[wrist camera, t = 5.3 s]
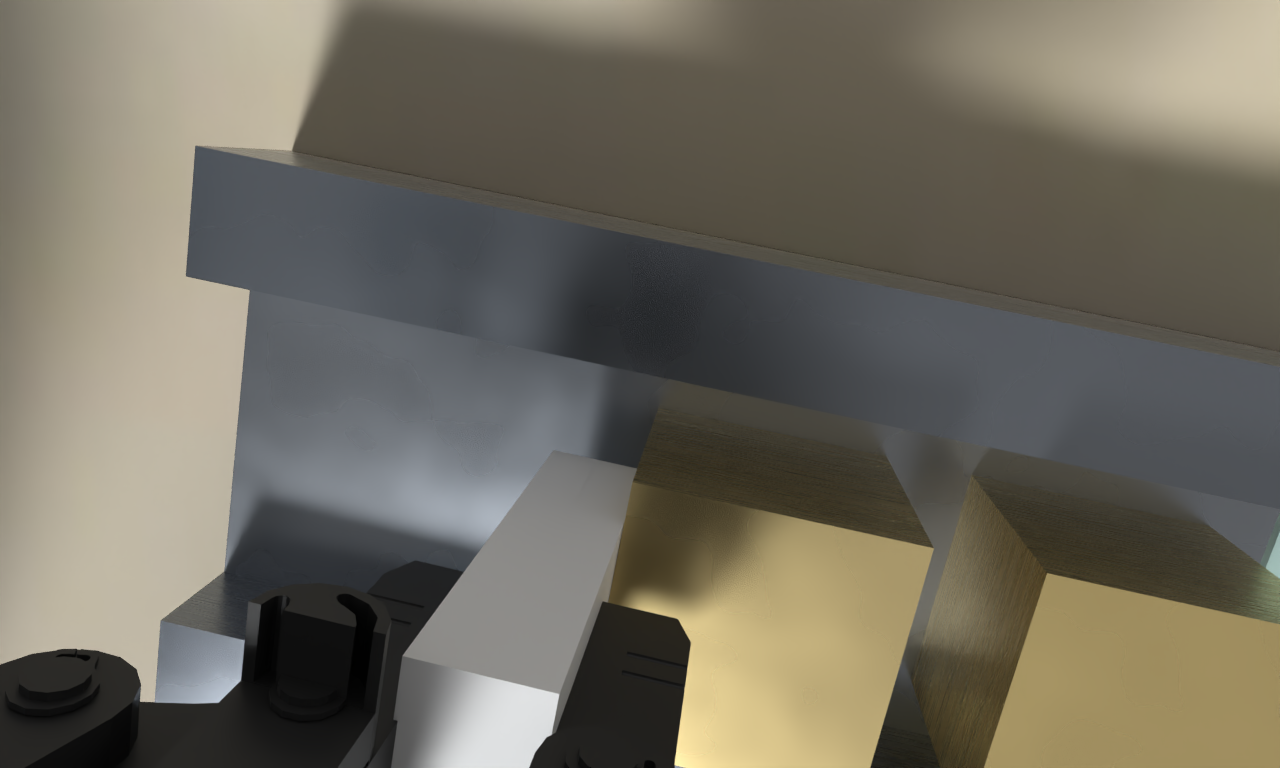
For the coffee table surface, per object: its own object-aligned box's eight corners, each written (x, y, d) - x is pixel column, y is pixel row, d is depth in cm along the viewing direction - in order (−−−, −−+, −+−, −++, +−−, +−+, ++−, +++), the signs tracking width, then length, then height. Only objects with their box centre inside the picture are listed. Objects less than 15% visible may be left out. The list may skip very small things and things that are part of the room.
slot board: (242, 638, 19) (153, 721, 16) (290, 150, 17) (195, 145, 14) (1115, 845, 18) (1188, 974, 15) (1298, 355, 16) (1425, 396, 13)
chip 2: (910, 680, 17) (962, 833, 13) (971, 474, 16) (1047, 573, 12) (1133, 731, 16) (1255, 903, 13) (1208, 525, 15) (1366, 643, 12)
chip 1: (616, 613, 17) (580, 743, 13) (658, 407, 16) (632, 481, 12) (830, 661, 17) (858, 809, 13) (886, 456, 16) (933, 548, 12)
